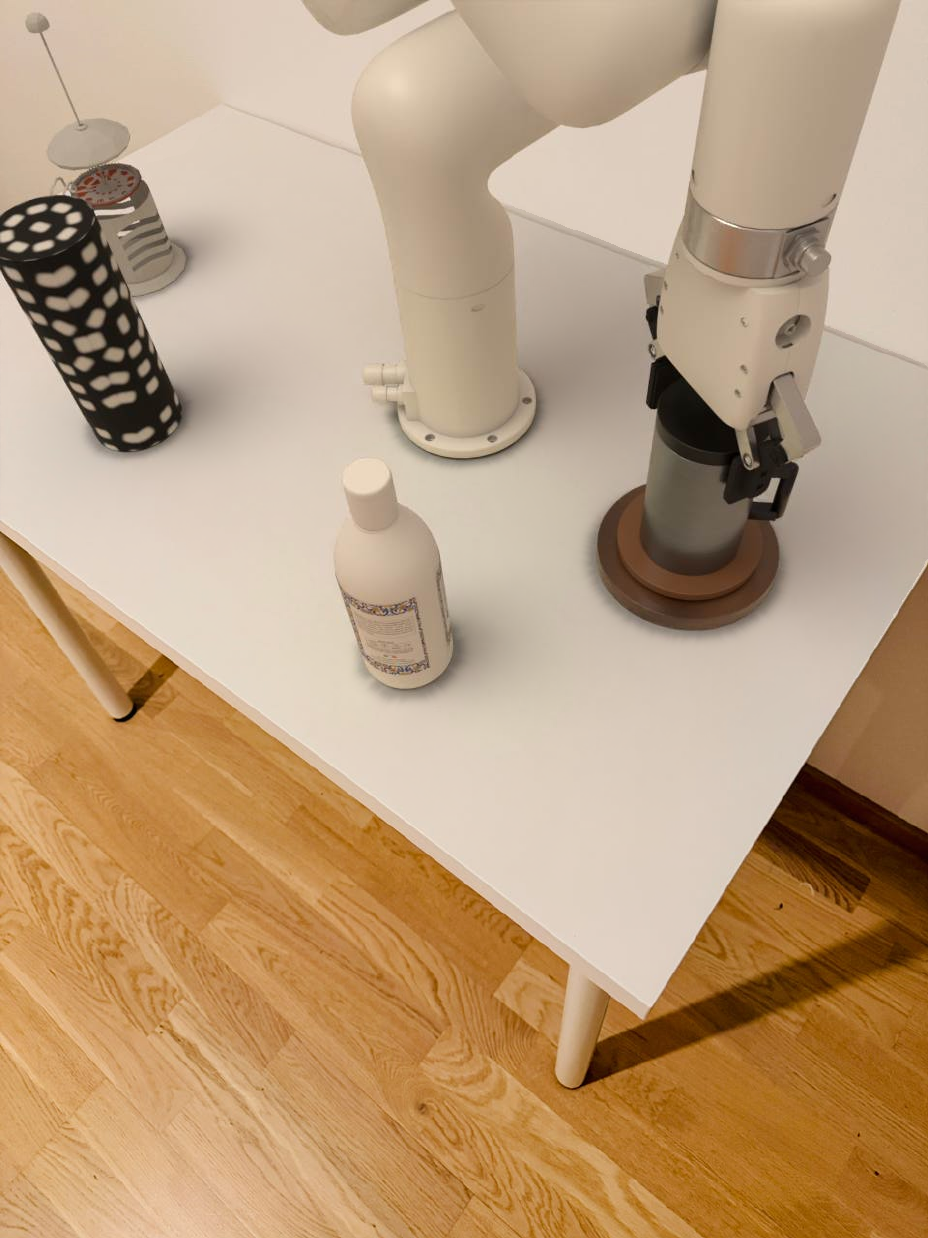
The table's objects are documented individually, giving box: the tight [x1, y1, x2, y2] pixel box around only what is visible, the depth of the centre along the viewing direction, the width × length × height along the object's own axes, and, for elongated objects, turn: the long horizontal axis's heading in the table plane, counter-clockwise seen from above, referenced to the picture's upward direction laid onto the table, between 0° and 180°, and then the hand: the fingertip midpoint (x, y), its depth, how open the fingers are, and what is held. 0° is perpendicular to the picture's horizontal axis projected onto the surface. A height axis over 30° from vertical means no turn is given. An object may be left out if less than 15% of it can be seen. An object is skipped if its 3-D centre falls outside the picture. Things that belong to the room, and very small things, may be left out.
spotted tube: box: [0, 194, 183, 453], centre depth 77 cm, size 8×8×20 cm
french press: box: [24, 12, 187, 297], centre depth 87 cm, size 10×12×25 cm
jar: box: [617, 377, 800, 600], centre depth 65 cm, size 11×12×14 cm
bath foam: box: [333, 457, 454, 690], centre depth 61 cm, size 7×7×20 cm
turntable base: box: [595, 483, 781, 631], centre depth 71 cm, size 14×14×2 cm
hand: (704, 445), depth 62 cm, fingers open, 9 cm apart
